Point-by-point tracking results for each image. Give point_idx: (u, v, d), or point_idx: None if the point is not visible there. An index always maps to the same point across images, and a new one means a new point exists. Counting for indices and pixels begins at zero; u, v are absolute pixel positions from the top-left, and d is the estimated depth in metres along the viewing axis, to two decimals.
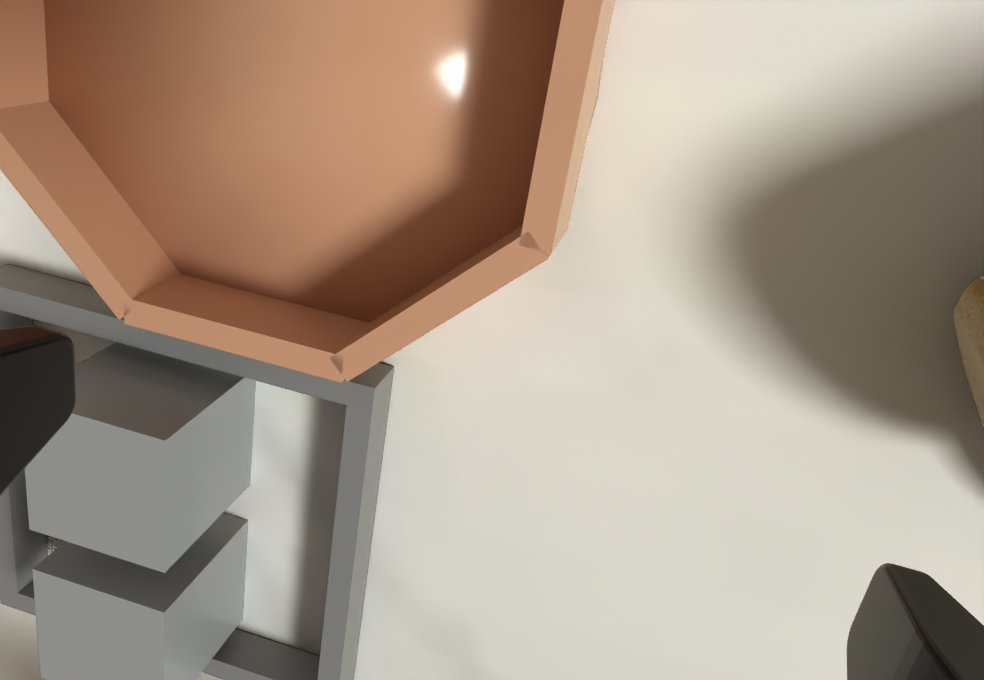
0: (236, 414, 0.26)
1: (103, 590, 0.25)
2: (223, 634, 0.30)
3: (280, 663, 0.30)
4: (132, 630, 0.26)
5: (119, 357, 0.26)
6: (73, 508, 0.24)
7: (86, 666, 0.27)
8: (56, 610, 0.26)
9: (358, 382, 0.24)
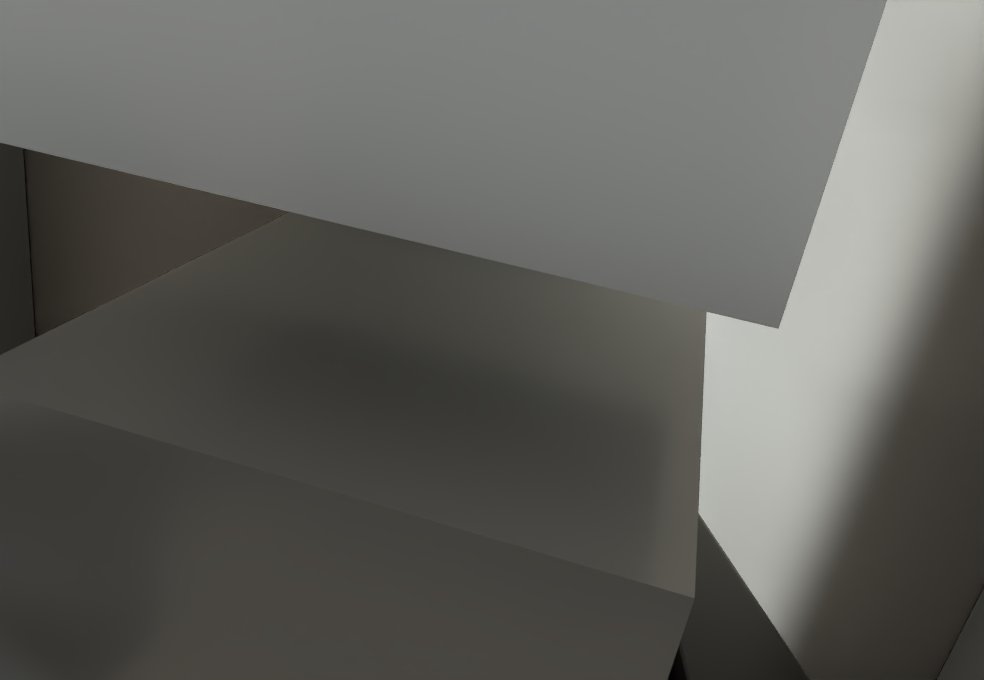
0: None
1: (325, 479, 0.05)
2: None
3: None
4: None
5: None
6: None
7: None
8: (72, 591, 0.06)
9: None
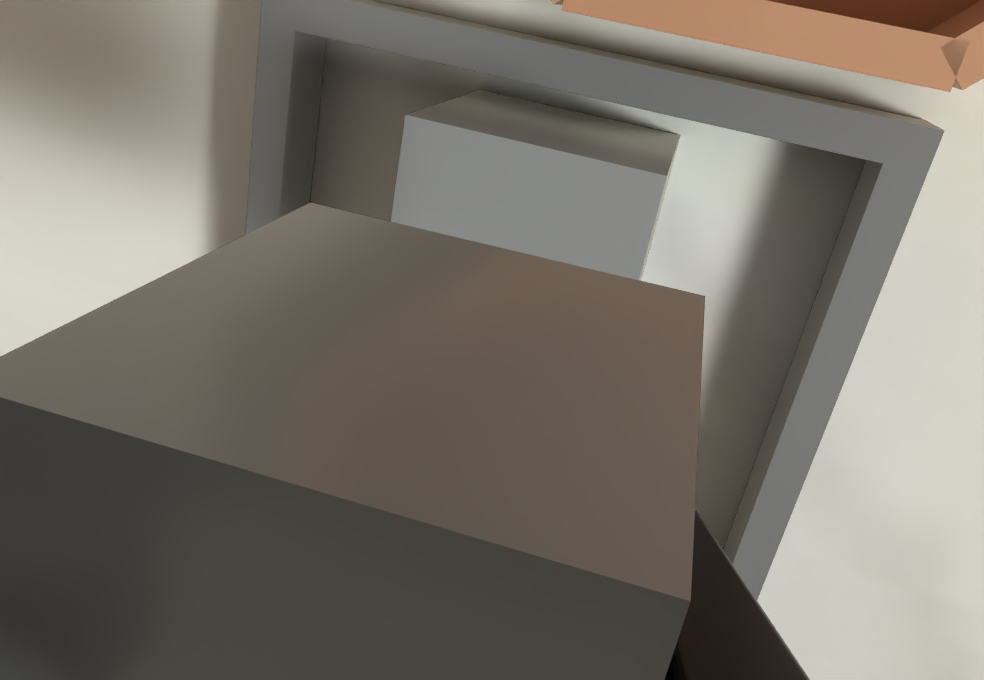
0: (663, 197, 0.17)
1: (322, 482, 0.05)
2: None
3: None
4: None
5: (492, 104, 0.17)
6: None
7: None
8: (70, 593, 0.06)
9: (912, 123, 0.15)
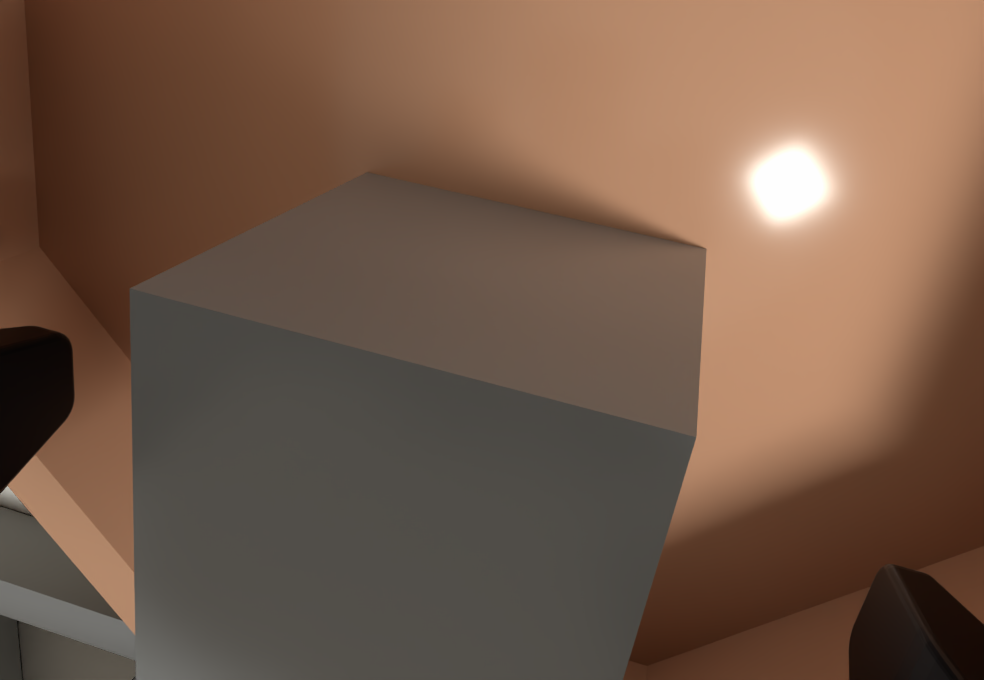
0: None
1: (420, 359, 0.06)
2: None
3: None
4: (521, 523, 0.07)
5: None
6: None
7: (304, 664, 0.08)
8: (213, 458, 0.07)
9: None
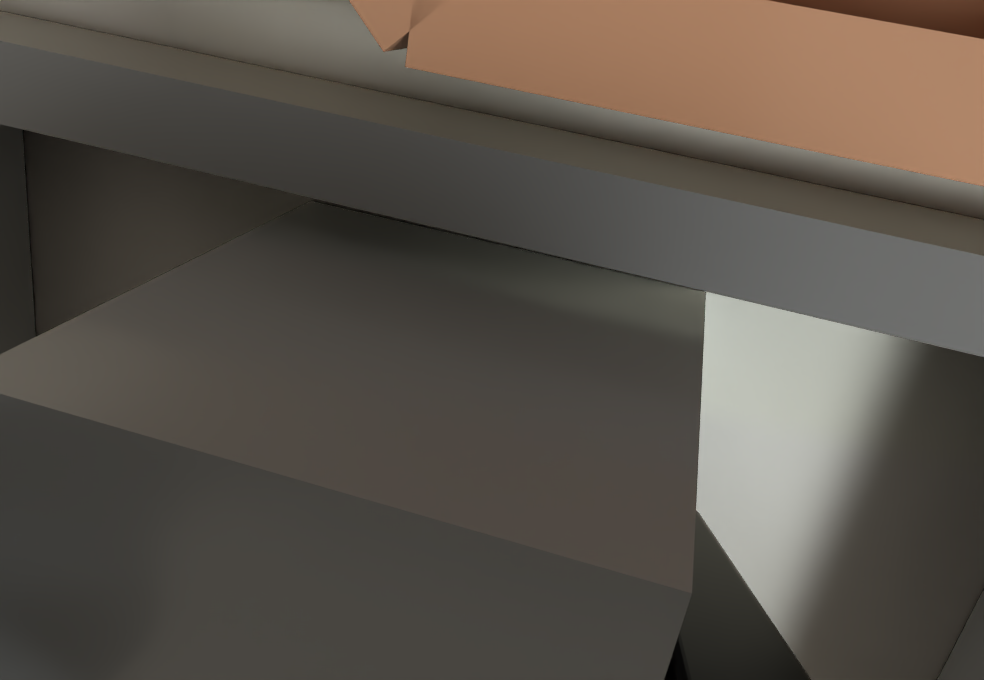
0: None
1: None
2: None
3: None
4: None
5: (302, 254, 0.08)
6: None
7: None
8: None
9: None
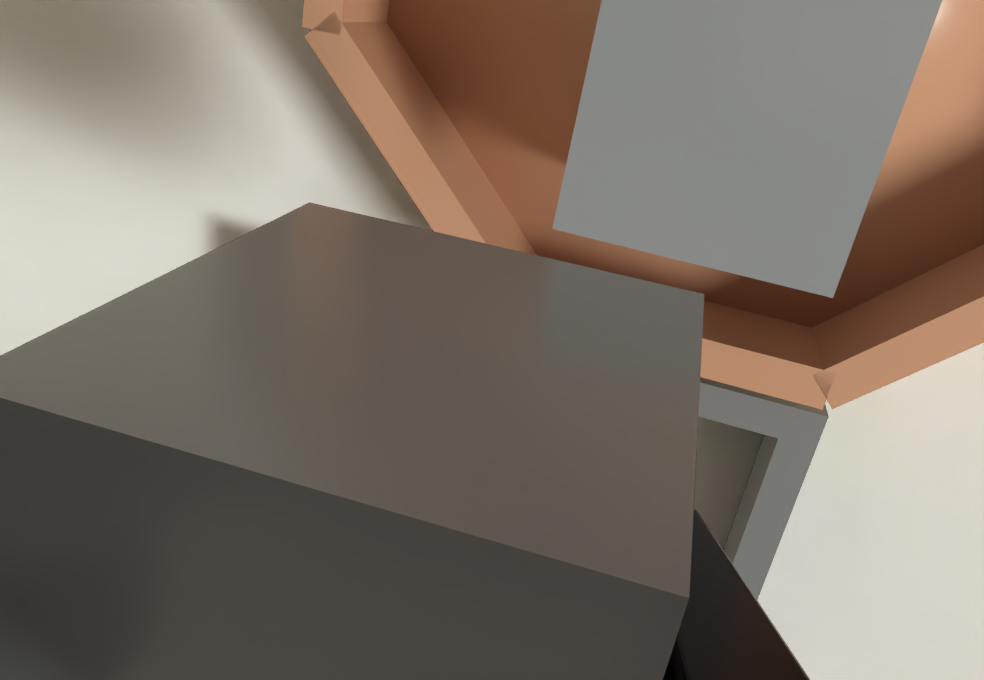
0: None
1: None
2: None
3: None
4: (837, 58, 0.12)
5: (301, 256, 0.08)
6: None
7: (678, 180, 0.13)
8: (647, 37, 0.12)
9: (802, 408, 0.18)
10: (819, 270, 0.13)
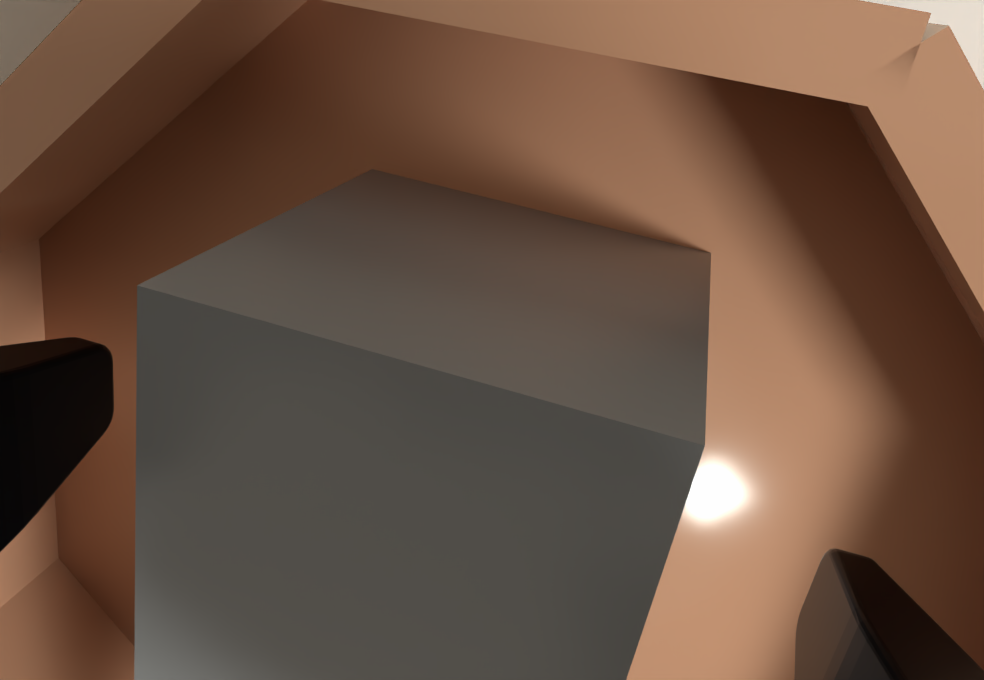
0: None
1: None
2: None
3: None
4: None
5: (375, 210, 0.10)
6: (287, 652, 0.08)
7: None
8: None
9: None
10: None
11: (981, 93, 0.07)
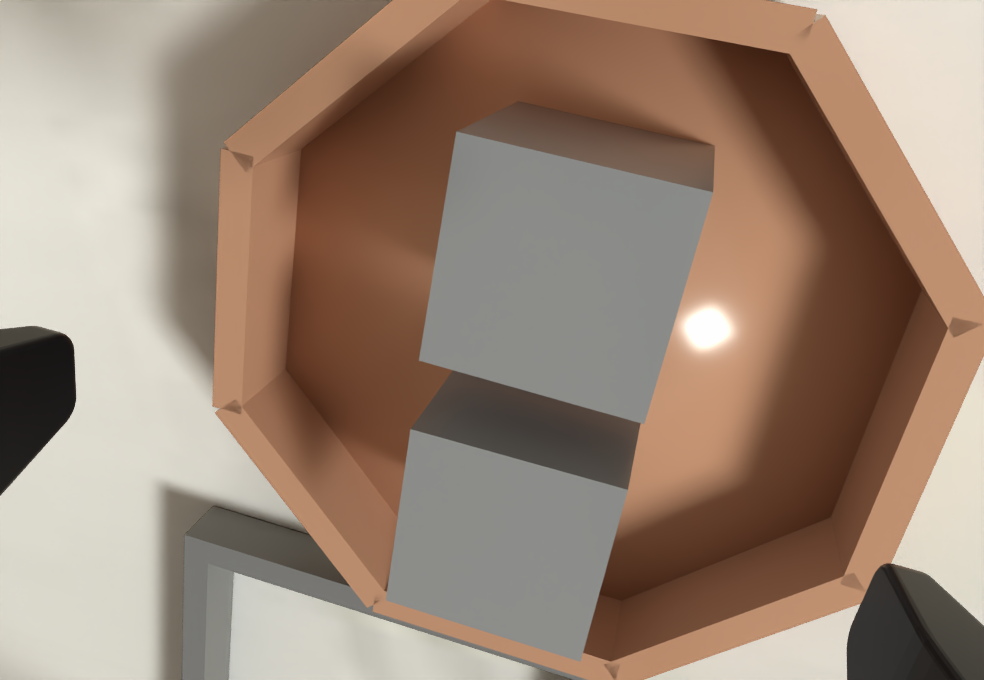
0: None
1: (525, 458, 0.17)
2: None
3: None
4: (563, 521, 0.17)
5: (533, 116, 0.18)
6: (508, 322, 0.16)
7: (468, 580, 0.18)
8: (437, 494, 0.18)
9: None
10: (569, 644, 0.18)
11: (842, 47, 0.15)
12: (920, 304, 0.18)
